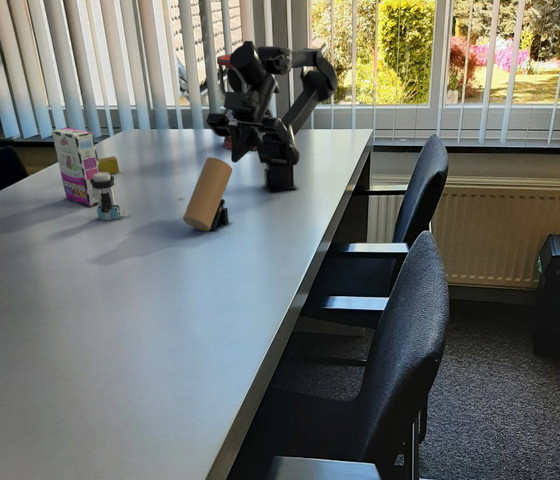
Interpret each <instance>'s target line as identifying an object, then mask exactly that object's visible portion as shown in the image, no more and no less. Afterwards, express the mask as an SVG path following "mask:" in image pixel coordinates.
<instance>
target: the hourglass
mask: <svg viewBox="0 0 560 480" xmlns="http://www.w3.org/2000/svg"><path fill="white" fill-rule="evenodd" d="M231 54H232V53H229V54H223V55H218V56H217V57H216V64H217V65H218V73H219V74H218V76H219V88H220V89H219V90H220V91H221V94H222V95H223V96H224V97H225V94H226V92H227V91H226V89H225V82H224V80H225V79H224V70H223V69H224V67H225V69H226V77H227V82H228V84H229V87H230V89H231V90H232V92H241V93H246V91H247V88H248V86H249V85H246V84H244V83H243V82H242V80H241V79H240V77H239V76H238V74H237V73H236V71H235V70H234V68H233V67H232V65H231V64H230V56H231ZM223 66H224V67H223ZM268 109H269V110H270V113H269V115H268V117H274V113H273V111H272V109H271V107H270V105H269V106H268ZM229 111H230V109H228V108H224V110H223V111H222V113H225V115H226V116H227V117H228V112H229ZM232 119H236V117H233V116H232ZM223 145H224V147H225V148H227V149H228V150H231V136H230V137H224V139H223ZM250 151H257V148H256V146H255V147H254V148H253V149H251V150H250Z"/></svg>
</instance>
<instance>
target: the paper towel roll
mask: <svg viewBox="0 0 560 480" xmlns="http://www.w3.org/2000/svg"><path fill="white" fill-rule="evenodd" d="M232 173H233V168H232V167H231V165H230V164H228V162H226V161H224V160H222V159H220V158H218V157H212V156H210V157H207V158H206V159H205V161H204V164H203V166H202V169H201V171H200V174H199V175H198V178H197V181H196V184H195V186H194V189H193V191H192V194H191V197H190V199H189V201H188V204H187V206H186V209H185V212H184V214H183V217H182V220H183V222H184V223H186V224H187V225H188V226H190V227H192V228H194V229H196V230H200V231H203V232H208V231H211V225H212V222H213V219H214V217H215V214H216V212H217V209H218V207H219V204H220V201H221V199H223V196H224V195H225V191H226V188H227V186H228V183H229V180H230V178H231V176H232Z"/></svg>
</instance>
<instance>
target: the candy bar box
mask: <svg viewBox="0 0 560 480" xmlns="http://www.w3.org/2000/svg"><path fill="white" fill-rule="evenodd" d="M51 136H52V140H53V144H54V149H55V154H56V159H57V162H58V167H59V171H60V175H61V176H60V177H61V181H62V184H63V190H64V192H65V198H66V199H67V200H70V201H73V202H76V203H79V204H82V205H85V206H88V207H92V206H96V205H98V204H99V202H98V198H97V193H96V188H93V187H92V183H90V179H92V178H93V175H94V174H96V173H100V168H99V162H98V159H99V158H98V153H97V147H96V142H95V137H94V132H90V131H86V130H82V129H78V128H77V129H76V128H73V127H64V128H59V129H54V130H51ZM100 194H101V191H100Z"/></svg>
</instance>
